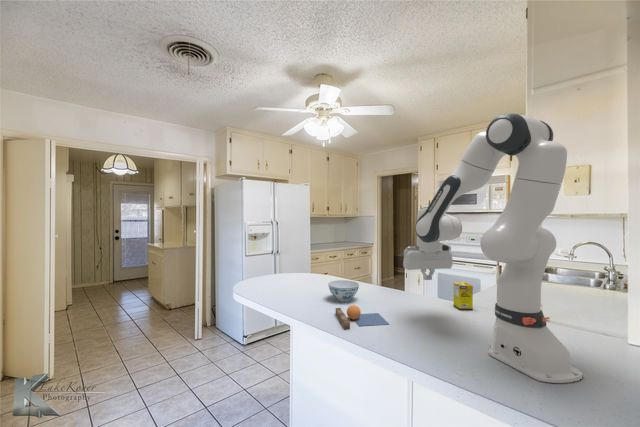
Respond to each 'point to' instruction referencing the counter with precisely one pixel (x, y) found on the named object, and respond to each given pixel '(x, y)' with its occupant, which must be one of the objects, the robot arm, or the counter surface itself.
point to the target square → (371, 320)
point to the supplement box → (463, 296)
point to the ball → (353, 312)
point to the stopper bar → (342, 318)
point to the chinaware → (343, 289)
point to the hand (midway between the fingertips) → (427, 279)
